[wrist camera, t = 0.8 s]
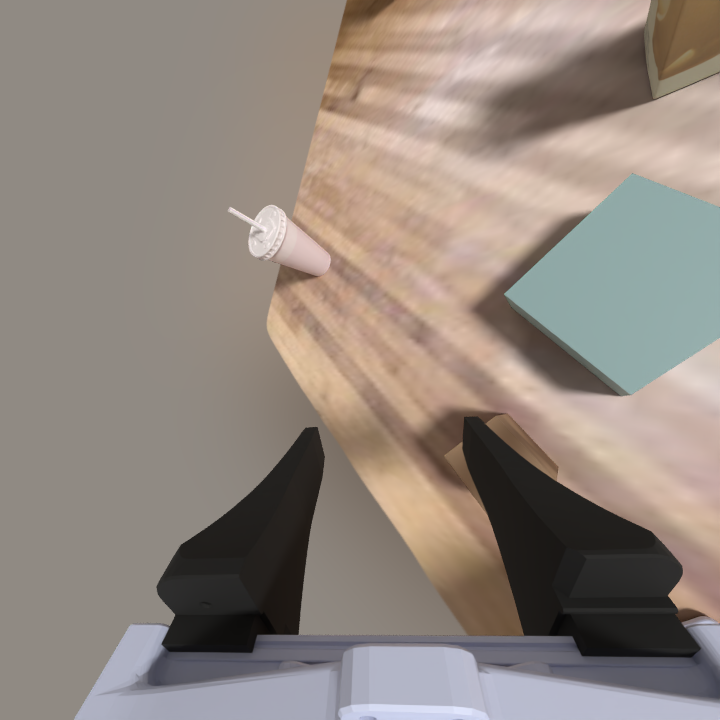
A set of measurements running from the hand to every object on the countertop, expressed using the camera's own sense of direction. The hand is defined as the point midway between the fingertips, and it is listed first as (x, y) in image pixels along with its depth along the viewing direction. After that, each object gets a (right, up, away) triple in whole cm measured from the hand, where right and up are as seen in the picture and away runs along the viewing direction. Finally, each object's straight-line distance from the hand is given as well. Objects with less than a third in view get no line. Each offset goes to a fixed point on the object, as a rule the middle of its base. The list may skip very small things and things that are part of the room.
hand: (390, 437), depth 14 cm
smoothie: (-7, +18, +26) cm, 33 cm away
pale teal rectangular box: (+18, +8, +6) cm, 21 cm away
